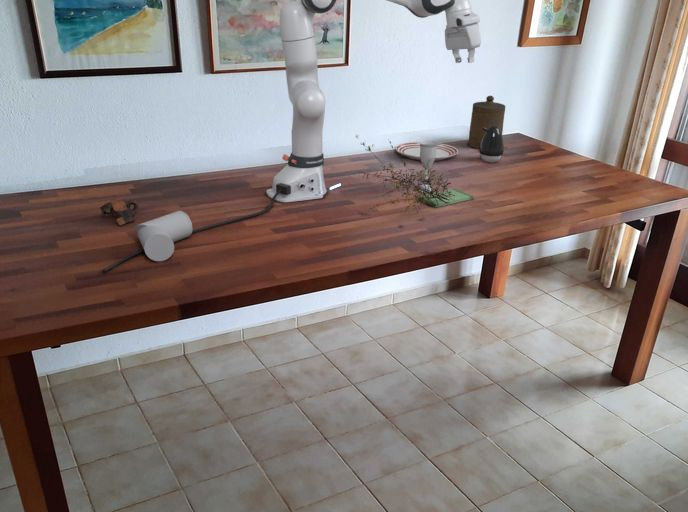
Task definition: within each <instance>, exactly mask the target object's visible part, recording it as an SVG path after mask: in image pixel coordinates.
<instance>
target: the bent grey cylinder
mask: <svg viewBox="0 0 688 512" xmlns="http://www.w3.org/2000/svg"><path fill="white" fill-rule="evenodd" d="M133 230H134V232H135V233H136V234H137V237H138V240H139V241H140V244H141V246H142V249H144V253H145V255H146V256H147V257H148V259H150V260H151V261H154V262H164V261H167V260H168V259H170V258H171V256H173V254H174V252H175V243H176V242H179V241H181V240H184V239H186V238H188V237H191V236H192V234H193V233H192V230H193V223H192V221H191V218H190V217H189V215H188V214H187V213H186V212H184V211H182V210H177V211H174V212H171V213H168V214H165V215H161V216H160V217H156V218H154V219H151V220H150V219H149V220H147V221H145V222H142V223H139V224H136V225H134V227H133Z"/></svg>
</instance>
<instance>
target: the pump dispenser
mask: <svg viewBox="0 0 688 512" xmlns="http://www.w3.org/2000/svg"><path fill="white" fill-rule="evenodd" d="M482 130H484V131H486V132H485V134H484V136H483V139H482V142H481V145H480V149H478V153H479V157H480V159H481V161H483V162H484V163H489V164H495V163H497V162H499V161H500V160H501V159H502V157H503V155H504V137H503V132H502V133H501V130H500V128H499V127H498V126H496V125H492V126H490V127H489V128H488V129H487V128H484V127H482Z"/></svg>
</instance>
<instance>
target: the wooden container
mask: <svg viewBox="0 0 688 512" xmlns="http://www.w3.org/2000/svg"><path fill="white" fill-rule="evenodd" d="M485 99H486V100H485V101H476V102H473V103H472V109H471V110H472V112H471V116H470V117H471V118H470V124H469V125H470V126H469V134H468V143H467V144H468V146H469V147H471V148H474V149H478V150H479V149H480V145H481V142H482V139H483V136H484V134H485V132H486V131H484V130H482V127H484V128H487V129H488V128H489V127H490V126H492V125H496V126H498V127H499V128H500V130H501V133H502V134H503V133H504V130H503V129H504V123H505V113H506V105H505V104H503V103H500V102H495V101H494V100H495V96H493V95H488V96H486V98H485Z"/></svg>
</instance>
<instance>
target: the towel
mask: <svg viewBox="0 0 688 512" xmlns="http://www.w3.org/2000/svg"><path fill="white" fill-rule="evenodd" d="M451 190H452V191H451ZM441 191H442V190H441ZM445 191H446V192H447V191H448V192H451V193H450V194H452V195H450V196H452V197H449V198H448V197H445V196H443V197H445V198H447V199H449V201H448V200H446V199H442V198H441V199H442V200H443V201H445V202H449V203H448V204H447V203H444V202H443V201H441V200H440V201H441V202H439V199H438V198H436V200H438V203H437V201H435V199H430V198H429V200H428V199H427V198H424V199H423V200H422V199H421V200H420V202H421V201H424V200H425V201H424V202H423V204H425V203H426V204H425V205H428V206H431V207H433V208H439V207H444V206H449V205H452V204H457V203H461V202H465V201H470V200H473V198H474V196H473V195H472V194H469V193H467V192H465V191H462V190H460V189H457V188H451V189H447V190H446V189H445V190H444V192H443V191H442V192H440V191H439V192H438V191H437V192H438V193H441V194H442V193H443V194H445V193H446V192H445ZM433 193H434V194H436V193H435V192H433ZM438 193H437V194H438ZM434 194H433V195H434ZM441 194H439V195H441ZM445 195H447V196H448V195H449V193H447V194H445ZM453 195H455V196H453ZM426 196H427V194H426ZM435 196H436V195H435ZM441 196H442V195H441ZM422 197H423V196H422ZM429 197H430V196H429ZM431 197H432V196H431ZM420 198H421V197H420ZM450 198H451V199H450ZM452 199H453V200H452ZM430 200H431V201H432V202H431V201H430ZM454 200H455V201H454ZM427 201H428V202H427ZM429 201H430V203H429Z"/></svg>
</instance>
